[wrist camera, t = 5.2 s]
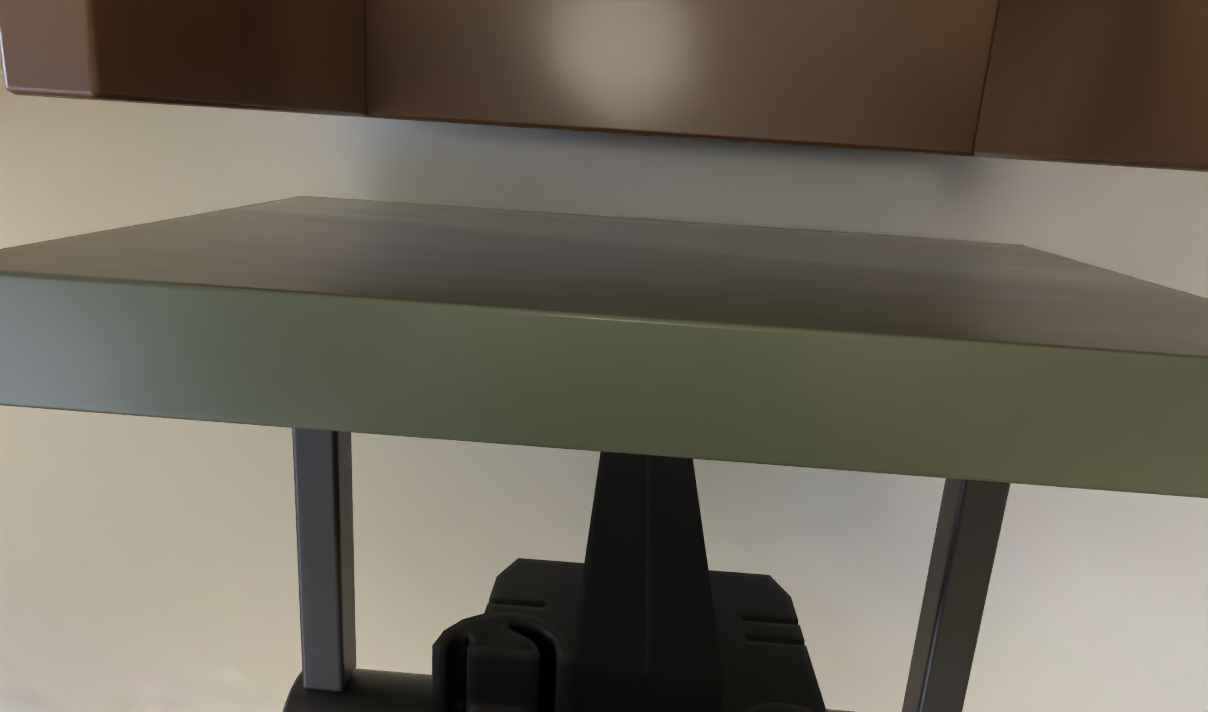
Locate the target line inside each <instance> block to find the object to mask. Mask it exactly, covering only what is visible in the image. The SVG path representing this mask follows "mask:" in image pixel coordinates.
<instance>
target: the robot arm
mask: <svg viewBox="0 0 1208 712" xmlns="http://www.w3.org/2000/svg"><path fill="white" fill-rule="evenodd" d="M432 712H827V711H826V708H825V705H824V702H823V699H822V695H821V692H820V689H819V686H818V683H817V679H816V676H815V673H814V670H813V667H812V663H811V660H810V657H809V654H808V651H807V647H806V646H804V638H803V634H802V631H801V628H800V625H798V618H797V615H796V612H795V609H794V606H793V602H792V599H791V596H790V595H789V594H788V593H787V592H786V591H785V590H784V589H783V588H782V587H781V586H780V585H779V584H778V583H777V582H776V581H775V580H774V579H773V578H772V577H771V576H770V575H762V574H749V573H736V572H723V571H711V570H708V564H707V557H706V550H705V543H704V536H703V529H702V522H701V515H700V508H699V500H698V493H697V486H696V479H695V472H694V465H693V458H680V457H667V456H654V455H641V454H628V453H615V452H602V451H601V453H600V460H599V467H598V474H597V481H596V488H595V495H594V501H593V508H592V515H591V522H590V529H589V536H588V542H587V549H586V556H585V563H574V562H561V561H548V560H535V559H522V558H518V559H517V560H515V561H514V562H513V563H512V564H511V565H510V566H508V567H507V568H506V569H505V570H504V571H503V572H501V573H500V574H499V575H498V576H497V578H496V581H495V584H494V587H493V590H492V593H491V596H490V598H489V603H488V604H487V607H486V610H485V613H484V614H481V615H477V616H473V617H470V618H466V619H463V620H461V621H459V622H458V623H456V624H454V625H453V626H451V627H449V628H448V629H446V630H444V631H443V633H442V634H441V635H440V637H439V638H438V639H437V641H436V642H435V643H434V645H433V646H432Z"/></svg>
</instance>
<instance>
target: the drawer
mask: <svg viewBox="0 0 1208 712" xmlns="http://www.w3.org/2000/svg"><path fill="white" fill-rule="evenodd" d="M0 52H1V60H2V68H3V76H4V84H5V87H6V89H7V91H10V92H12V93H14V94H16V95H28V96H43V97H58V98H74V99H89V100H105V101H121V102H136V103H152V104H167V105H183V106H198V107H214V108H230V109H245V110H261V111H276V112H292V113H308V114H323V115H339V116H354V117H370V118H385V119H401V120H416V121H432V122H447V123H463V124H478V125H494V126H509V127H524V128H540V129H555V130H571V131H586V132H602V133H617V134H633V135H648V136H664V137H679V138H694V139H710V140H725V141H741V142H756V143H772V144H787V145H803V146H818V147H833V148H849V149H864V150H880V151H895V152H911V153H926V154H942V155H957V156H973V157H988V158H1003V159H1019V160H1034V161H1049V162H1065V163H1080V164H1095V165H1111V166H1126V167H1141V168H1157V169H1172V170H1187V171H1203V172H1208V0H0ZM0 405H6V406H18V407H31V408H44V409H57V410H70V411H83V412H96V413H109V414H122V415H135V416H148V417H161V418H174V419H187V420H200V421H213V422H226V423H239V424H252V425H265V426H278V427H291V428H292V434H293V458H294V482H295V505H296V529H297V552H298V576H299V600H300V623H301V647H302V672H301V673H300V674H299V675H298V677H297V678H296V680H295V682H294V684H293V686H292V688H291V690H290V692H289V695H288V697H287V700H286V703H285V706H284V709H283V712H432V675H425V674H413V673H402V672H390V671H378V670H367V669H355V668H356V637H355V591H354V545H353V500H352V454H351V432H356V433H369V434H382V435H395V436H408V437H421V438H434V439H447V440H459V441H472V442H485V443H498V444H511V445H524V446H537V447H550V448H563V449H576V450H589V451H602V452H615V453H628V454H641V455H654V456H667V457H680V458H693V459H706V460H719V461H732V462H745V463H758V464H771V465H784V466H797V467H810V468H823V469H836V470H849V471H862V472H875V473H888V474H900V475H913V476H926V477H939V478H946V481H945V486H944V491H943V497H942V502H941V507H940V512H939V518H938V523H937V528H936V534H935V539H934V544H933V549H932V555H931V560H930V565H929V571H928V576H927V581H926V587H925V592H924V597H923V602H922V608H921V613H920V618H919V624H918V629H917V634H916V640H915V645H914V650H913V655H912V661H911V666H910V671H909V677H908V682H907V687H906V692H905V698H904V703H903V708H902V712H962V709H963V704H964V699H965V695H966V690H967V685H968V680H969V676H970V671H971V666H972V662H973V657H974V652H975V647H976V643H977V638H978V633H979V629H980V624H981V619H982V614H983V610H984V605H985V600H986V596H987V591H988V586H989V581H990V577H991V572H992V567H993V563H994V558H995V553H996V548H997V544H998V539H999V534H1000V530H1001V525H1002V520H1003V515H1004V511H1005V506H1006V501H1007V496H1008V492H1009V487H1010V483H1017V484H1030V485H1043V486H1056V487H1069V488H1082V489H1095V490H1108V491H1121V492H1134V493H1147V494H1160V495H1173V496H1186V497H1199V498H1208V299H1206V298H1203V297H1200V296H1196V295H1193V294H1189V293H1186V292H1182V291H1179V290H1176V289H1172V288H1169V287H1165V286H1162V285H1158V284H1155V283H1152V282H1148V281H1145V280H1141V279H1138V278H1134V277H1131V276H1127V275H1124V274H1121V273H1117V272H1114V271H1110V270H1107V269H1103V268H1100V267H1097V266H1093V265H1090V264H1086V263H1083V262H1079V261H1076V260H1073V259H1069V258H1066V257H1062V256H1059V255H1055V254H1052V253H1049V252H1045V251H1042V250H1038V249H1035V248H1031V247H1028V246H1024V245H1017V244H1003V243H988V242H973V241H958V240H944V239H929V238H914V237H900V236H885V235H870V234H855V233H841V232H826V231H811V230H797V229H782V228H767V227H752V226H738V225H723V224H708V223H694V222H679V221H664V220H649V219H635V218H620V217H605V216H591V215H576V214H561V213H546V212H532V211H517V210H502V209H488V208H473V207H458V206H443V205H429V204H414V203H399V202H385V201H370V200H355V199H340V198H326V197H311V196H298V197H293V198H287V199H281V200H276V201H270V202H264V203H259V204H253V205H247V206H242V207H236V208H230V209H225V210H219V211H213V212H208V213H202V214H196V215H191V216H185V217H179V218H174V219H168V220H162V221H157V222H151V223H145V224H140V225H134V226H128V227H122V228H117V229H111V230H105V231H100V232H94V233H88V234H83V235H77V236H71V237H66V238H60V239H54V240H49V241H43V242H37V243H32V244H26V245H20V246H15V247H9V248H3V249H0ZM826 711H827V712H853V711H842V710H830V709H826Z"/></svg>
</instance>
